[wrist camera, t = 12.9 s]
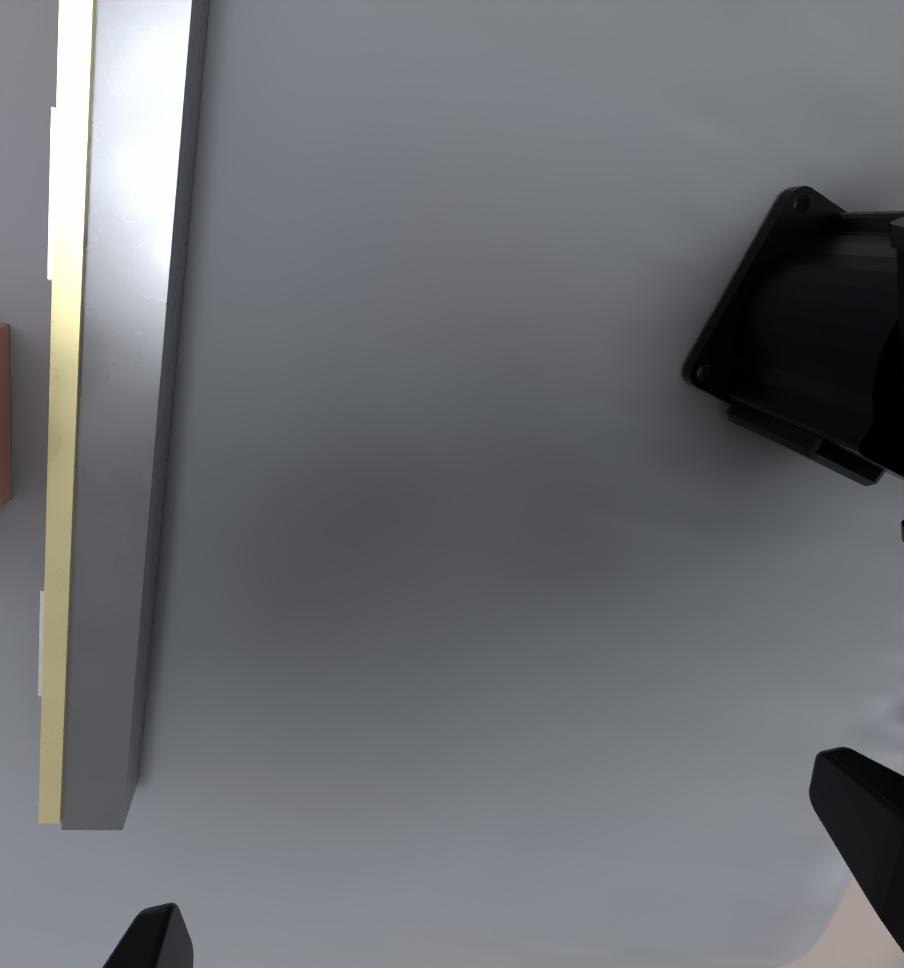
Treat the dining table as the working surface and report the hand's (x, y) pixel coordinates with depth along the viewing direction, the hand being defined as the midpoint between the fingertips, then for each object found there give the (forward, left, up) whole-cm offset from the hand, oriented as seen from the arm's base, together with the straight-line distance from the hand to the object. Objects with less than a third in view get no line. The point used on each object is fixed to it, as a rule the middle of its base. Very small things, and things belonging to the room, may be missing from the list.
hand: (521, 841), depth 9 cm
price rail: (+1, -8, -13) cm, 15 cm away
